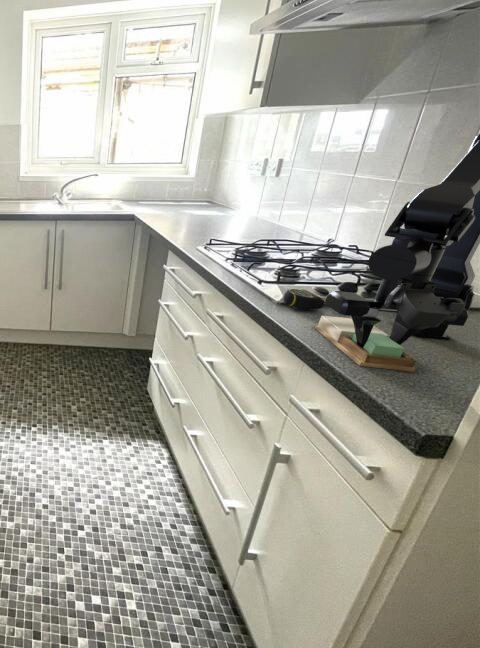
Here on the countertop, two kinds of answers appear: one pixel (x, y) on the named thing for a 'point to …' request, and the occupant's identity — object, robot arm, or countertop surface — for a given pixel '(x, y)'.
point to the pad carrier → (342, 335)
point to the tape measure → (303, 299)
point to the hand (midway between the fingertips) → (374, 348)
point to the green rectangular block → (381, 345)
